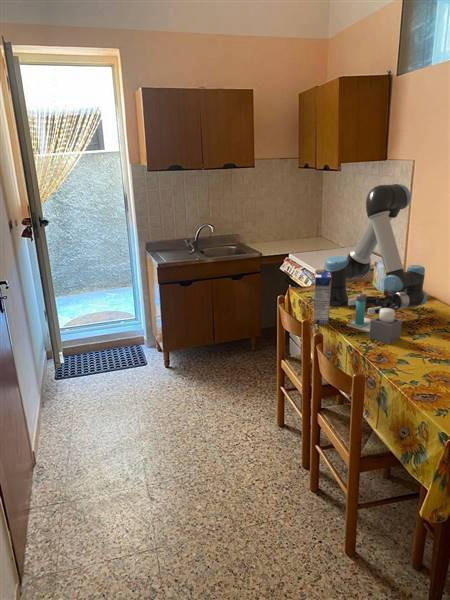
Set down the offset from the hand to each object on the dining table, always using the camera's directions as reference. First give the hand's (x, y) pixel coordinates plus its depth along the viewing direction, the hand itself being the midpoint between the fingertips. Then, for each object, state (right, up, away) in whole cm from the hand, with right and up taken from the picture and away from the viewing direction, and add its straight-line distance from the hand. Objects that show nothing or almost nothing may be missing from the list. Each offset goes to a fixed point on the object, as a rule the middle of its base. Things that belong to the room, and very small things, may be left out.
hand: (358, 306), depth 199 cm
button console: (+8, -13, -11) cm, 19 cm away
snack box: (+30, +9, +57) cm, 65 cm away
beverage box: (-15, -7, +9) cm, 19 cm away
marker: (+1, -7, +3) cm, 8 cm away
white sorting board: (+5, -9, +2) cm, 10 cm away
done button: (+8, -6, -13) cm, 17 cm away
